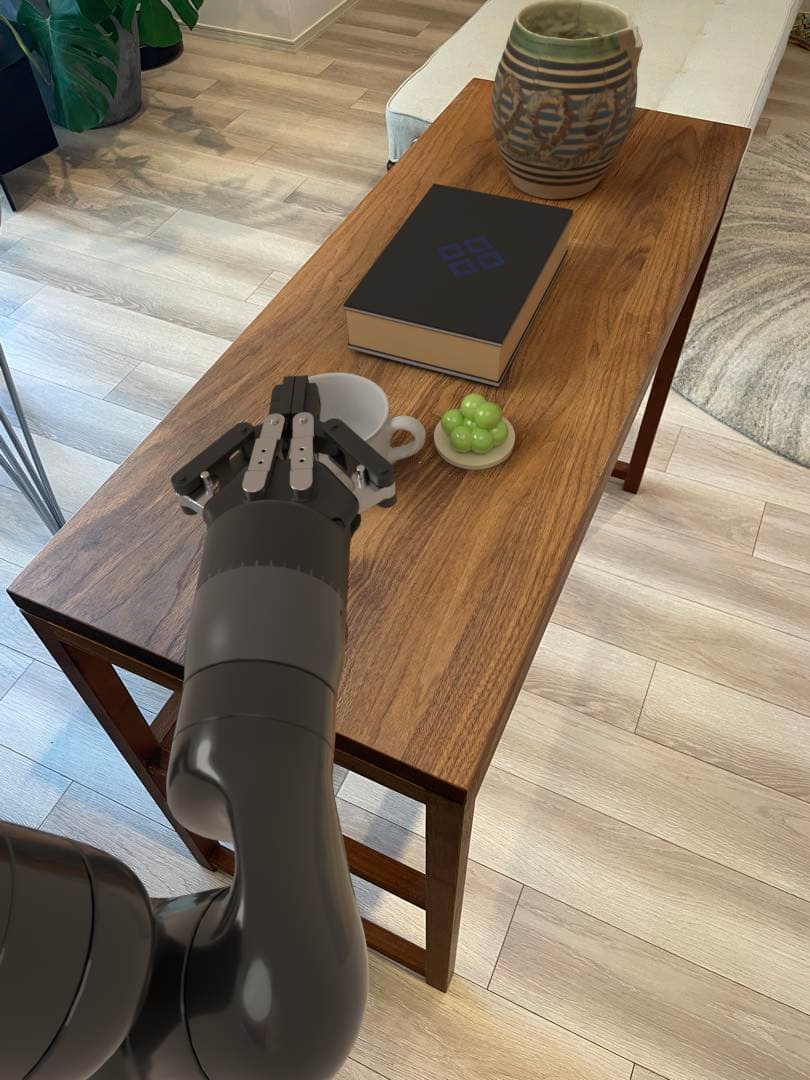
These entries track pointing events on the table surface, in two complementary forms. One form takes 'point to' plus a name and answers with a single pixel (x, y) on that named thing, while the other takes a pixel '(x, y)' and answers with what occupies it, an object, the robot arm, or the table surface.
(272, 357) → the table surface
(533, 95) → the pottery
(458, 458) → the grapes
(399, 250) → the book
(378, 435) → the teacup
